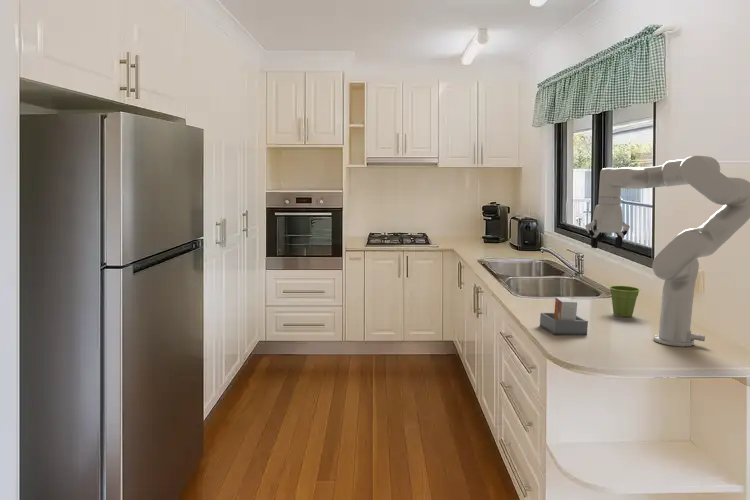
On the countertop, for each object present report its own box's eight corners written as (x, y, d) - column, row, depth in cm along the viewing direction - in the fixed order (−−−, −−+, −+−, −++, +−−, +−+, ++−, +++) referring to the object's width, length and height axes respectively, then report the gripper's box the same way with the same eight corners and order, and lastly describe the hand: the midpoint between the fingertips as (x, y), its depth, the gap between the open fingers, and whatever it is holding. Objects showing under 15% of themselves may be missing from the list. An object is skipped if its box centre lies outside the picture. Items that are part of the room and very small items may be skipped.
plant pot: (608, 310, 260) (610, 284, 259) (638, 314, 255) (641, 287, 254) (605, 316, 250) (607, 288, 248) (637, 320, 245) (639, 291, 243)
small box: (553, 325, 228) (555, 297, 226) (568, 325, 228) (570, 297, 226) (559, 330, 220) (561, 301, 218) (575, 331, 220) (577, 302, 218)
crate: (570, 325, 231) (571, 312, 230) (586, 334, 218) (587, 321, 217) (539, 326, 229) (540, 312, 229) (554, 335, 216) (555, 321, 216)
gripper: (624, 201, 233) (621, 247, 235) (582, 201, 230) (579, 246, 232) (636, 202, 226) (633, 249, 228) (592, 201, 223) (589, 249, 225)
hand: (606, 248), depth 230 cm, fingers open, 9 cm apart
